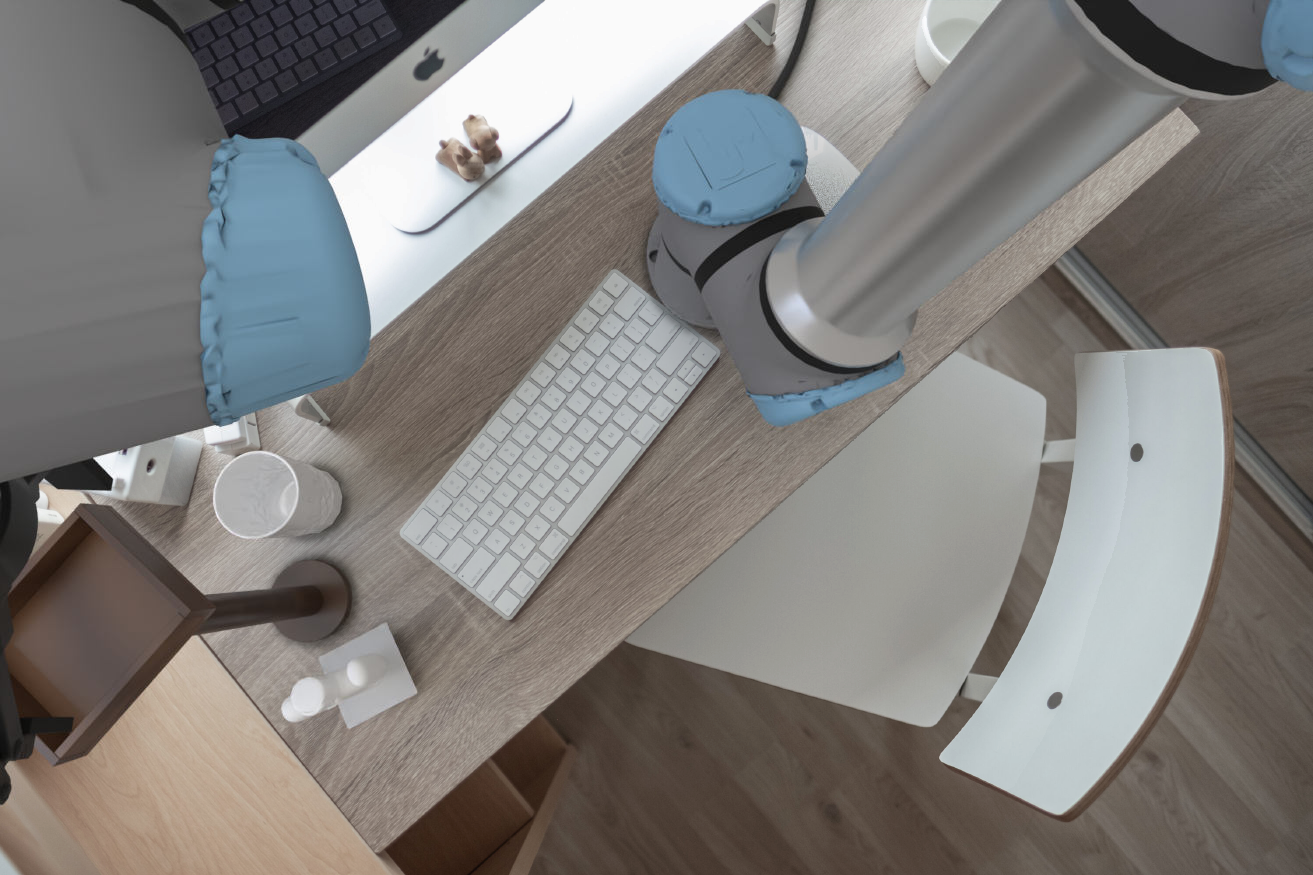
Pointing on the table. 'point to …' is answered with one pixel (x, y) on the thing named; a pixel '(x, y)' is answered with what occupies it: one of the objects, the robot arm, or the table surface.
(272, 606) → the walnut post
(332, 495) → the white cup
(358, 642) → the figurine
